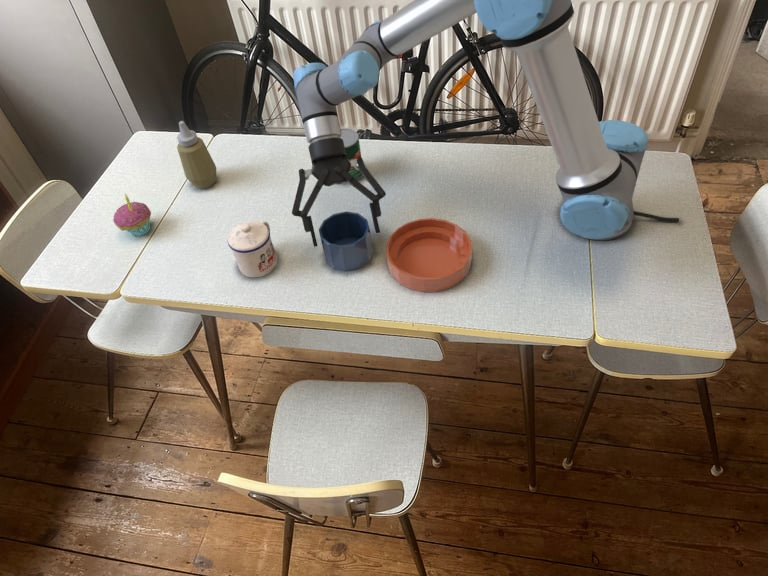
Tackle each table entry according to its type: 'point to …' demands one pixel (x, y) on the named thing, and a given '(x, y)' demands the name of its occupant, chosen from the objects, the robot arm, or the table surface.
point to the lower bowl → (429, 255)
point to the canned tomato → (352, 150)
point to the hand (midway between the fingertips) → (347, 239)
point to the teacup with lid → (253, 248)
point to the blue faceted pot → (346, 241)
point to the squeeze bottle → (195, 158)
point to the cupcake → (133, 218)
